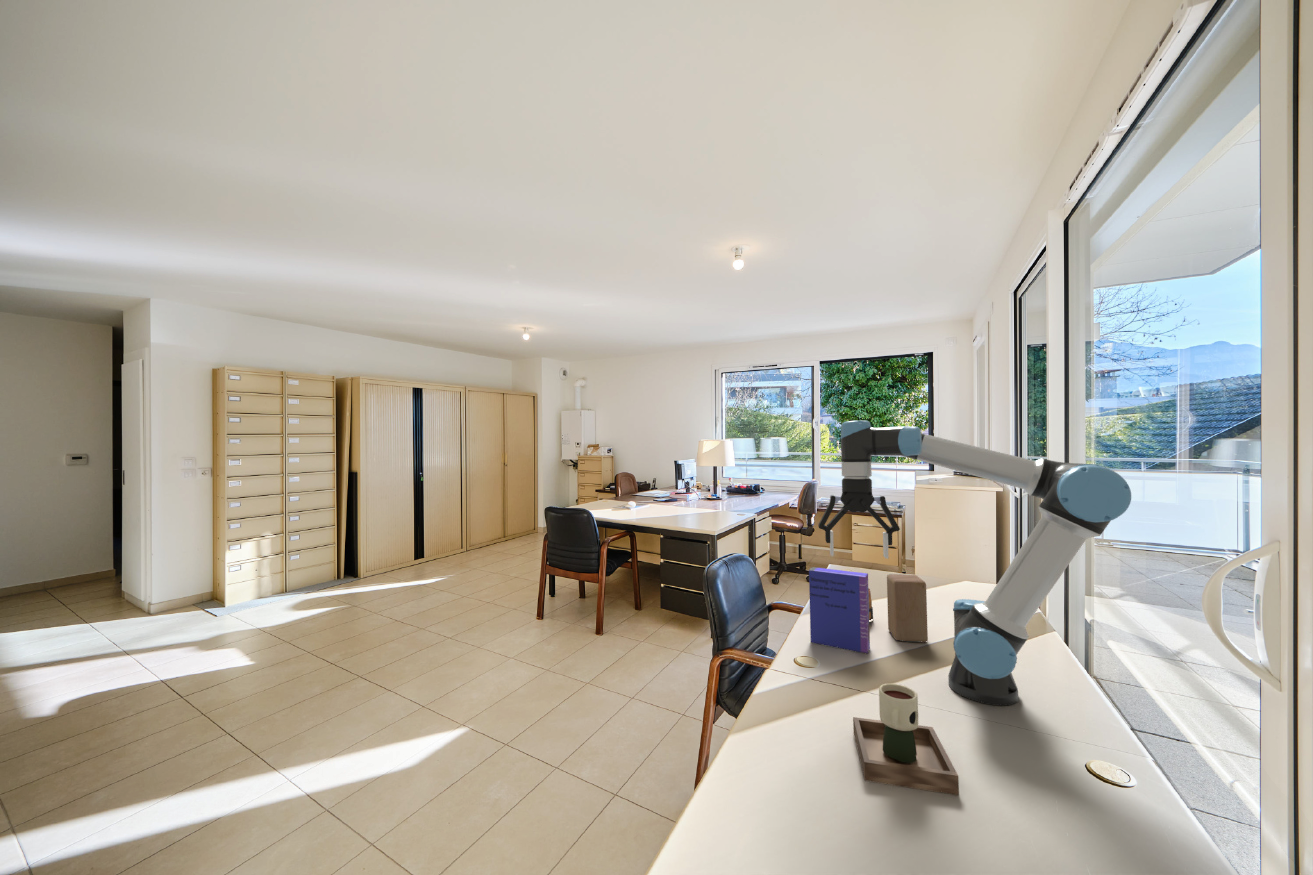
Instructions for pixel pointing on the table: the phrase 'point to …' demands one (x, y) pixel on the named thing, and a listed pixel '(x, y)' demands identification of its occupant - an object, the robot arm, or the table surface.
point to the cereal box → (839, 609)
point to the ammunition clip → (870, 606)
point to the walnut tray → (921, 774)
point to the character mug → (899, 721)
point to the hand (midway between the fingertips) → (858, 556)
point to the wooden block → (907, 607)
